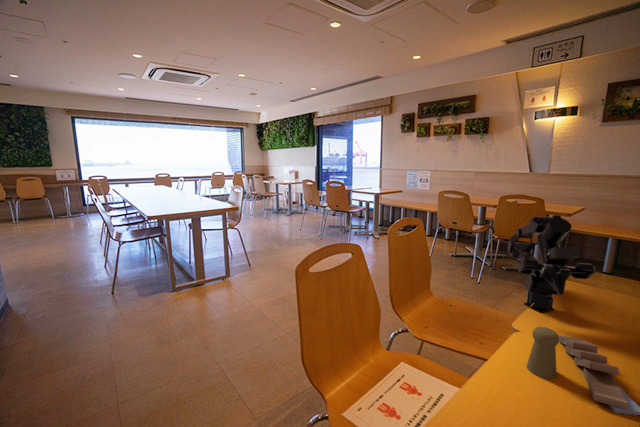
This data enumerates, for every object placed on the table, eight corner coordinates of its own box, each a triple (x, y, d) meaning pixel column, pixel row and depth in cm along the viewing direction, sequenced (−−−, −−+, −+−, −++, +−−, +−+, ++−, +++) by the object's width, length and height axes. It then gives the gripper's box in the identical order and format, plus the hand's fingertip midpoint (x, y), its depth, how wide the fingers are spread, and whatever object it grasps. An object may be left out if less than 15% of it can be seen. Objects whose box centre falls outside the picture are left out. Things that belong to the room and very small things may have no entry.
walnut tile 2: (565, 345, 82) (580, 351, 73) (588, 350, 80) (606, 356, 71) (565, 351, 82) (580, 358, 73) (589, 356, 80) (607, 363, 71)
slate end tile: (586, 375, 72) (615, 408, 62) (611, 378, 71) (644, 412, 61) (585, 380, 72) (613, 414, 63) (610, 384, 71) (643, 419, 61)
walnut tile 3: (574, 356, 77) (589, 360, 69) (599, 362, 75) (618, 367, 67) (574, 363, 77) (589, 368, 68) (599, 369, 75) (618, 375, 66)
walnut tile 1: (558, 335, 87) (572, 342, 78) (579, 338, 85) (597, 346, 76) (558, 341, 87) (572, 348, 77) (579, 344, 85) (597, 352, 76)
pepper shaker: (551, 365, 77) (556, 325, 75) (560, 381, 71) (566, 339, 69) (523, 360, 79) (527, 321, 77) (530, 376, 73) (535, 334, 71)
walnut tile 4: (584, 366, 72) (595, 393, 64) (612, 373, 70) (627, 402, 61) (583, 372, 73) (594, 400, 64) (611, 379, 70) (626, 409, 62)
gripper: (524, 234, 96) (534, 280, 87) (596, 238, 90) (614, 287, 82) (514, 251, 104) (522, 294, 96) (579, 256, 99) (594, 302, 90)
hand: (561, 294), depth 91 cm, fingers closed
